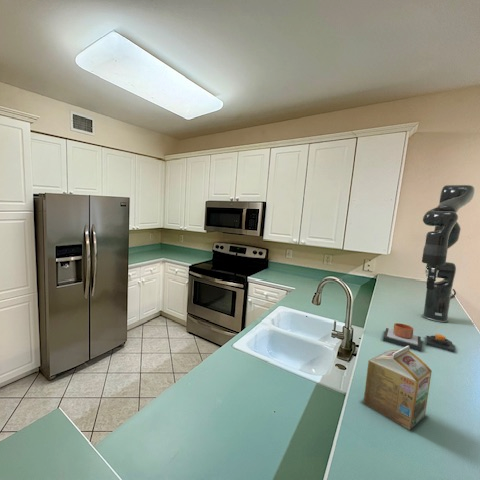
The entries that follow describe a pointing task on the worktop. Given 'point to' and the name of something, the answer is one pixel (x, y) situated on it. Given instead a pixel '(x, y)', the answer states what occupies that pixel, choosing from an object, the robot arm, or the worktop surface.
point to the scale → (402, 340)
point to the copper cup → (403, 330)
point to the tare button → (440, 337)
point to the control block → (439, 343)
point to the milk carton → (398, 386)
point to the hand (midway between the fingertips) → (429, 287)
